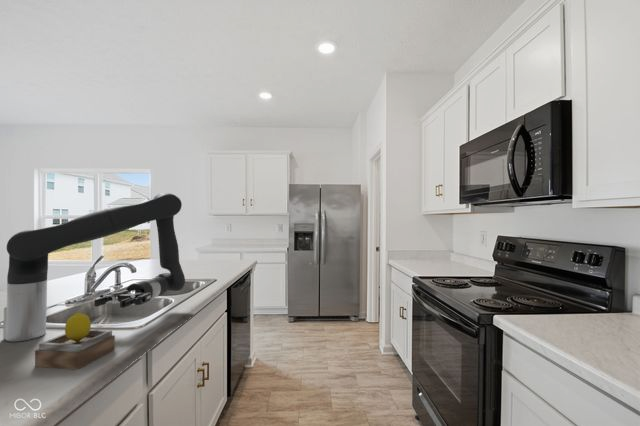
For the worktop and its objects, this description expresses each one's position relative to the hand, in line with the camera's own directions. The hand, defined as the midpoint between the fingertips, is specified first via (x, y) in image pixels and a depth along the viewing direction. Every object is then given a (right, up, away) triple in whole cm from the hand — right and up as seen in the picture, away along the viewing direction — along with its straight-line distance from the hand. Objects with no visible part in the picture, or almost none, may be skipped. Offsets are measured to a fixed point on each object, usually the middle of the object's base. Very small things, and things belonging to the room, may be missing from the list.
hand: (108, 303), depth 95 cm
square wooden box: (-1, -11, -11) cm, 16 cm away
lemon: (-1, -8, -10) cm, 13 cm away
